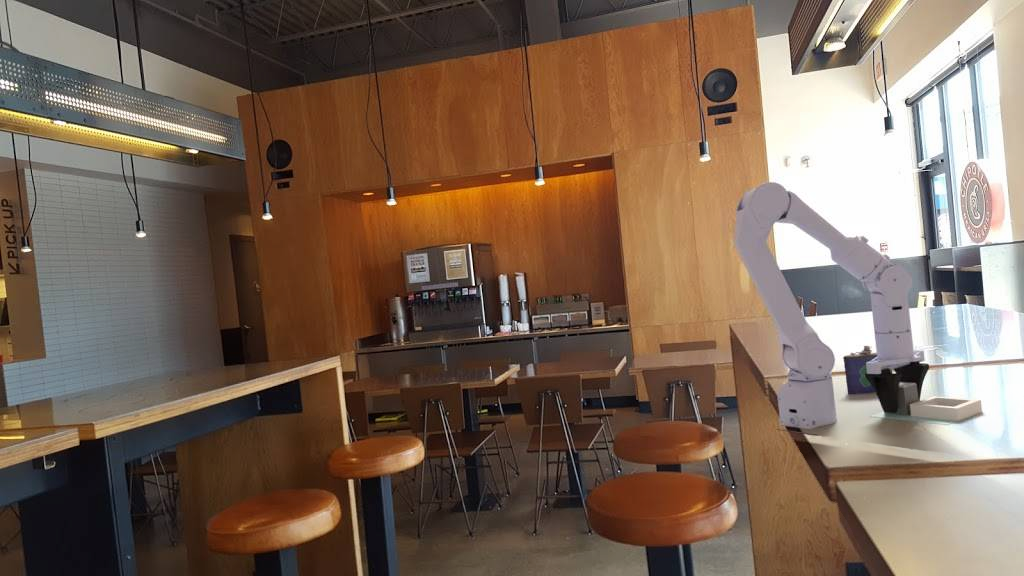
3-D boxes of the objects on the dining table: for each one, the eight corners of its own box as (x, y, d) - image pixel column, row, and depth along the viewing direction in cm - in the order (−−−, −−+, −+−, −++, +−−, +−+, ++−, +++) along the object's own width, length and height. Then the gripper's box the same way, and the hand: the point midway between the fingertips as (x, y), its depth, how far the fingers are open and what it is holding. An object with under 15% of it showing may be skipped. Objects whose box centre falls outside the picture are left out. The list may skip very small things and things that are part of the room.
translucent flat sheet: (948, 432, 110) (948, 424, 110) (870, 423, 121) (869, 416, 121) (983, 418, 116) (982, 411, 116) (905, 411, 127) (905, 404, 127)
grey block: (906, 415, 118) (903, 386, 118) (884, 413, 122) (881, 385, 122) (919, 411, 121) (916, 382, 121) (897, 409, 124) (893, 381, 124)
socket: (958, 420, 112) (957, 408, 112) (911, 415, 118) (909, 404, 118) (982, 411, 115) (980, 399, 115) (935, 407, 122) (933, 396, 122)
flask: (891, 393, 143) (885, 342, 143) (898, 396, 140) (892, 343, 140) (846, 398, 143) (840, 347, 143) (852, 401, 140) (846, 348, 140)
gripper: (891, 337, 114) (900, 418, 114) (938, 325, 121) (947, 402, 122) (851, 337, 120) (860, 414, 120) (898, 326, 128) (907, 399, 128)
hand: (901, 408), depth 121 cm, fingers open, 6 cm apart
